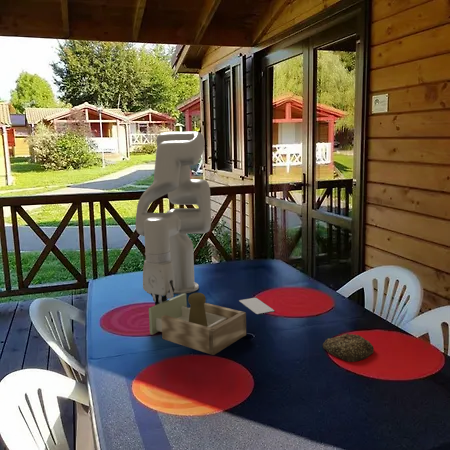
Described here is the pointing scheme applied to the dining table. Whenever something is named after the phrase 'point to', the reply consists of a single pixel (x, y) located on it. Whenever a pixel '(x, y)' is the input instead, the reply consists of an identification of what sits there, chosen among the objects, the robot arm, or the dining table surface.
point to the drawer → (177, 313)
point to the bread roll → (349, 347)
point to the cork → (197, 309)
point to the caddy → (206, 330)
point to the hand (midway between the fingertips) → (160, 313)
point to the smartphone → (256, 306)
